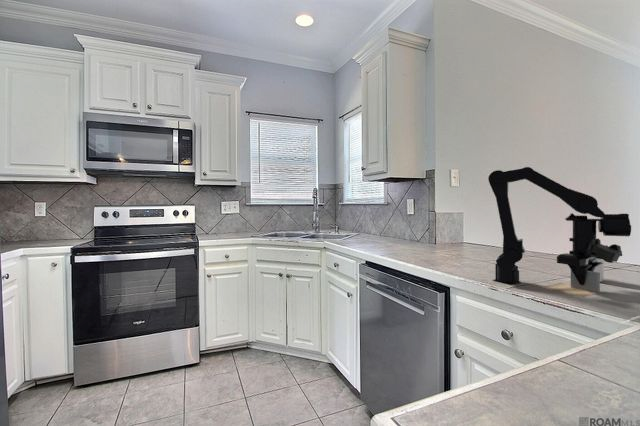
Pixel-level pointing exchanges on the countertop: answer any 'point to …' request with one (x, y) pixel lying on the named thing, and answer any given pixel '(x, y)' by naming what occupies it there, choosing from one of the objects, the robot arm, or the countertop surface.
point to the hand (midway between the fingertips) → (583, 284)
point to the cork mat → (569, 289)
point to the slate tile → (587, 282)
